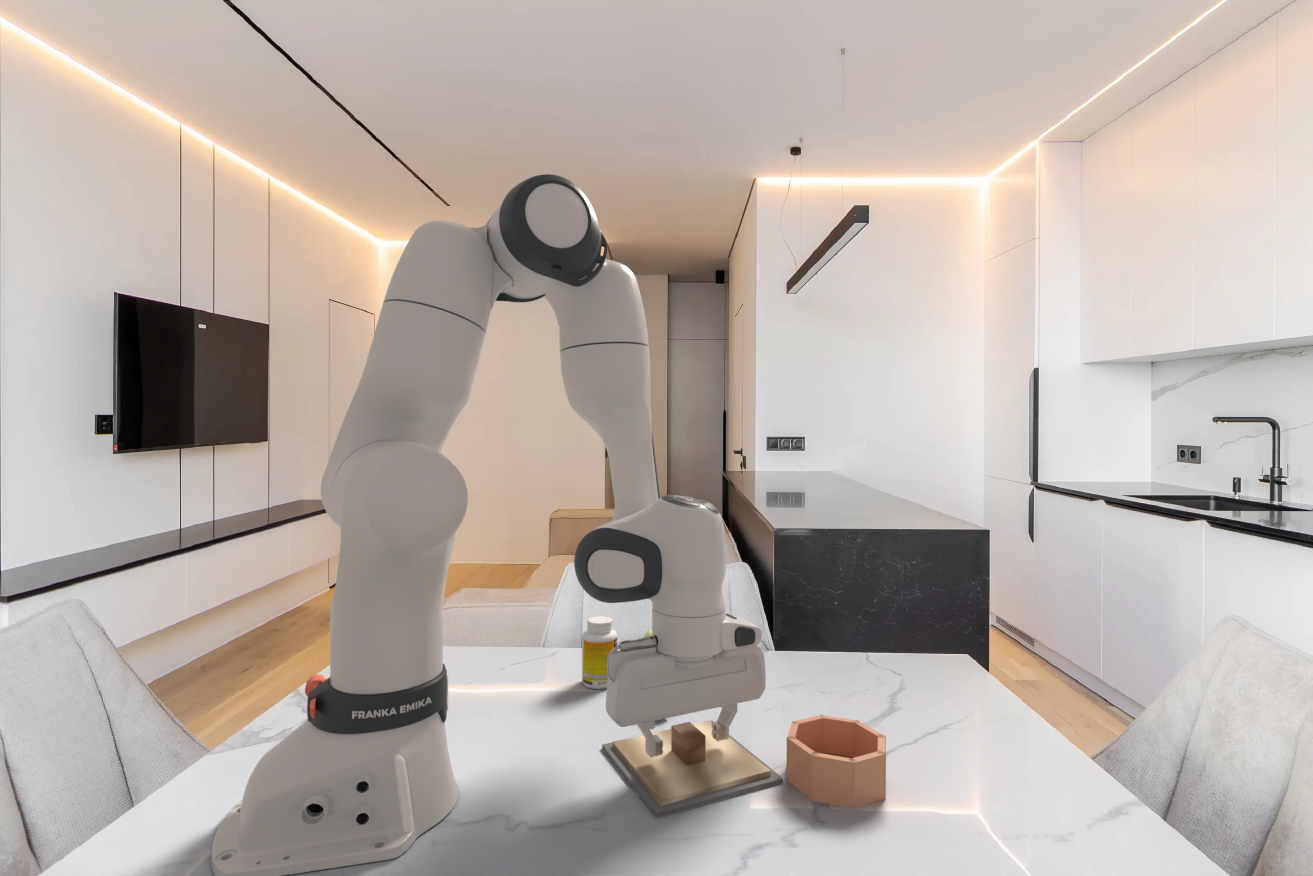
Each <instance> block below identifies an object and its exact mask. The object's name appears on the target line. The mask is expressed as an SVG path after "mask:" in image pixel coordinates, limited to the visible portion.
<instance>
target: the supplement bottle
mask: <svg viewBox="0 0 1313 876" xmlns="http://www.w3.org/2000/svg"><path fill="white" fill-rule="evenodd" d="M586 625H587V628H586V630H585V631H584V632H583V633H582V637H581V682H582V685H584V686H585V687H586V688H589V689H594V690H604V689H607V685H608V679H609V676H608V673H607V658H608V654H609V653H610V651H611V650H612V649H613V648H614V647H616V646H618V634H617V631H616V630H615V629H613V627H614V625H613V619H612V618H611V617H609V616H605V615H603V616H602V615H601V616H599V615H598V616H592V617H590V618H588V619H587V624H586ZM616 651H618V650H616Z"/></svg>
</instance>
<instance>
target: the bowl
mask: <svg viewBox="0 0 1313 876" xmlns="http://www.w3.org/2000/svg"><path fill="white" fill-rule="evenodd" d="M886 748H887V736H886V735H884V733H881V732H879V731H878V730H875V729H873V728H872V727H870V726H868V724H867V725H866V724H865V723H863V722H862V721H860V720H859V719H852V718H844V717H838V716H831V715H825V714H818V715H815V716H811V717H806V718H803V719H798V720H794V721H791V725H790V728H789V732H788V734H787V736H786V764H785V765H786V772H785V773H786V774H785V775H786V779H785V780H786V782H788V783H789V784H791V785H792V786H794V787H795V788H796V789H797V790H798V791H799V792H800V793H802V794H803V795H805V796H806V797H807V798H808V799H809V800H810V801H812V802H813V801H814V802H818V803H825V804H829V805H834V806H839V807H842V808H843V807H844V808H848V809H853V810H854V809H857V808H860V807H863V806H866V805H867V806H868V805H869V804H873V803H875V802H879V801H881V800H885V799H886V797H887V796H886V795H887V793H886V791H887V788H886V784H887V783H886V782H887V754H886V753H887V751H886V750H887V749H886Z"/></svg>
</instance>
